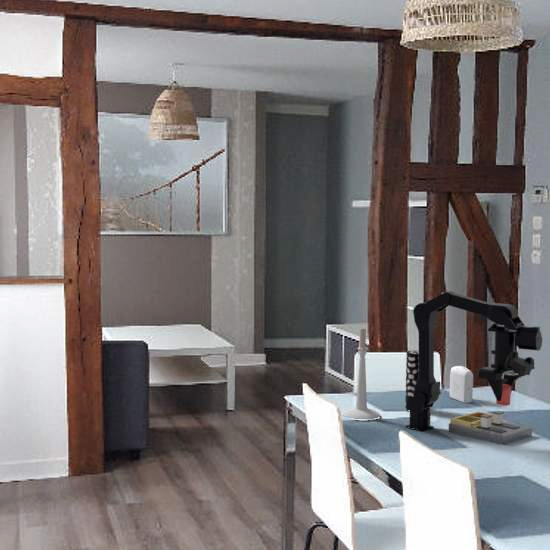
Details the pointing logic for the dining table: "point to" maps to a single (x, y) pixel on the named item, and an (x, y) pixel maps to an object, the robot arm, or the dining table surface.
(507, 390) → the red rounded cylinder
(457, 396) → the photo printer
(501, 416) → the block
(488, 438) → the panel
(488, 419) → the block
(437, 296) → the robot arm
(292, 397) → the dining table surface
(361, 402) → the candlestick
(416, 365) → the white-spotted black cylinder
